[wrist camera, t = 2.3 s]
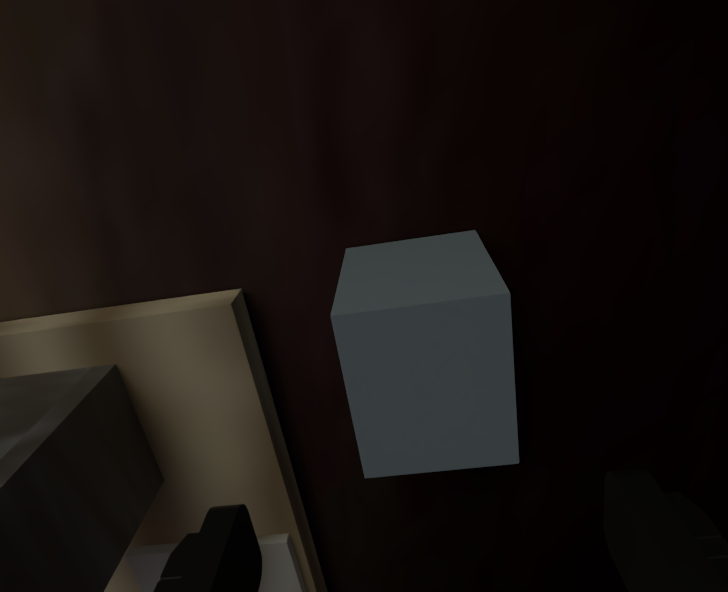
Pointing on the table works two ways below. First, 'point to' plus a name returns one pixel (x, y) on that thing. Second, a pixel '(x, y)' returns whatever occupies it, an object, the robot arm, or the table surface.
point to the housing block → (427, 355)
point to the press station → (140, 446)
